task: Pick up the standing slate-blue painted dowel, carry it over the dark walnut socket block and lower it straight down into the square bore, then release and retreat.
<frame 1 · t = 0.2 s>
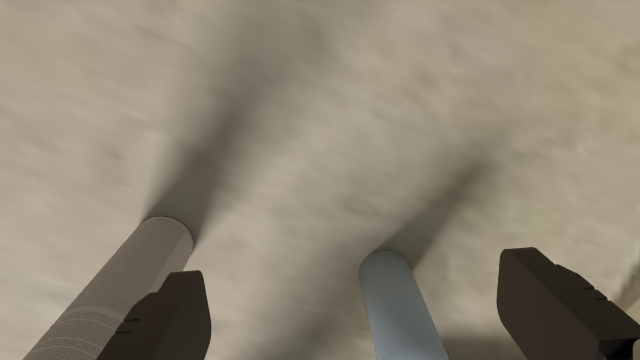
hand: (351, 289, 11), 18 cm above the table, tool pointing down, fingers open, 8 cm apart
bottle: (165, 240, 30), on the table
peg: (384, 271, 32), on the table
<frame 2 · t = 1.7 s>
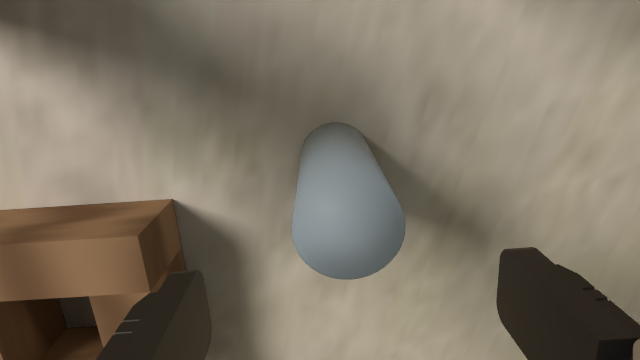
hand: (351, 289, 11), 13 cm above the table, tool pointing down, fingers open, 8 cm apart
socket block: (98, 290, 26), on the table
peg: (335, 156, 23), on the table
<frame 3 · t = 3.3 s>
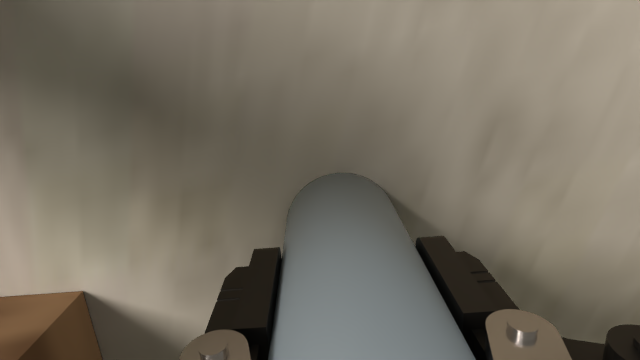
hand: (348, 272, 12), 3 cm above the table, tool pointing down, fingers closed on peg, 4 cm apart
peg: (341, 225, 15), on the table, touching gripper
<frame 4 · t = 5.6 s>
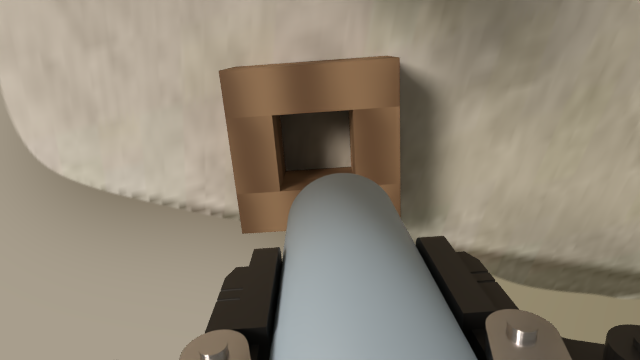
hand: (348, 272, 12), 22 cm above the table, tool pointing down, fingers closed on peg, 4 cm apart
socket block: (316, 136, 33), on the table
peg: (342, 224, 15), point 19 cm above the table, touching gripper
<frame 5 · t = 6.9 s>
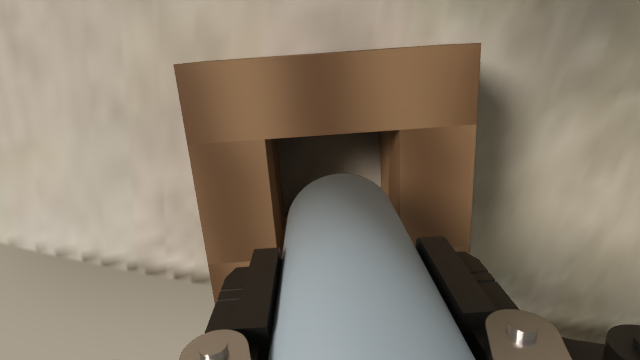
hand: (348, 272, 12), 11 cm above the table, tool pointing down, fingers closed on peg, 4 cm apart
socket block: (330, 166, 22), on the table
peg: (341, 225, 15), point 8 cm above the table, touching gripper
when the fingers open (6 cm above the table, at t = 8.1 s): peg drops 3 cm, resting in socket block.
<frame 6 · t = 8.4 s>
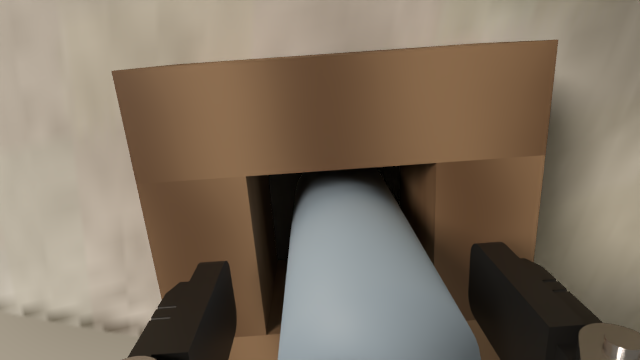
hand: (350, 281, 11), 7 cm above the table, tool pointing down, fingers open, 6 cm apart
socket block: (335, 198, 17), on the table
peg: (340, 198, 17), resting in socket block
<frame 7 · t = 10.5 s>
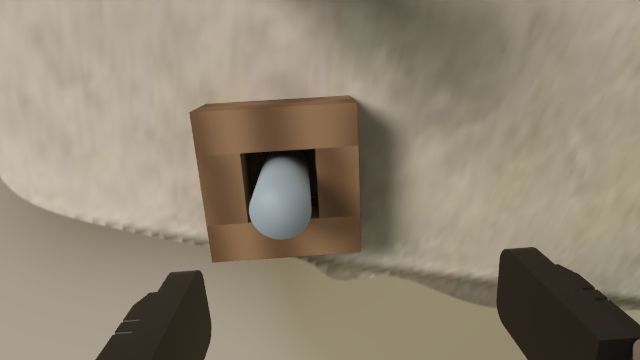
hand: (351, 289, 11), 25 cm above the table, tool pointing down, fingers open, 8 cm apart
socket block: (283, 168, 35), on the table
peg: (286, 168, 35), resting in socket block
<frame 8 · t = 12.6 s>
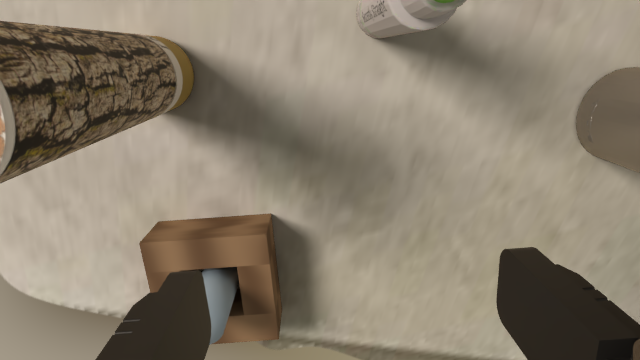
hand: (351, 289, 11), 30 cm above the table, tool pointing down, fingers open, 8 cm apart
socket block: (222, 267, 44), on the table
bottle: (379, 13, 37), on the table
peg: (224, 267, 44), resting in socket block
brown bark cylinder: (160, 74, 38), on the table
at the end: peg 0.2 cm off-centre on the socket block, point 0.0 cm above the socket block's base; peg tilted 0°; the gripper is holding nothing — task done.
